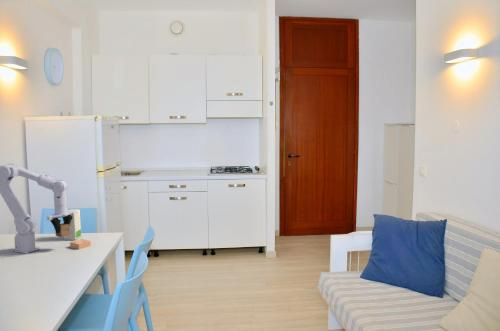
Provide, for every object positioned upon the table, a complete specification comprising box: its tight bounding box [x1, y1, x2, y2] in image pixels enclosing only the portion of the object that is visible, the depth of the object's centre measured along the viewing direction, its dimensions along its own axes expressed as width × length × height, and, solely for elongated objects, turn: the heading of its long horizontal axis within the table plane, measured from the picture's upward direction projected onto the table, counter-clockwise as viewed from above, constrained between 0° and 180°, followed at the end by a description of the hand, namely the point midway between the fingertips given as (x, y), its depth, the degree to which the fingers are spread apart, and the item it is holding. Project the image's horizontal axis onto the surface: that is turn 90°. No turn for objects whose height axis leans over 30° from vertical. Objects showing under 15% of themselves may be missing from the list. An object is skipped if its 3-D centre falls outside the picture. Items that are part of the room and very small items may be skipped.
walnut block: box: [55, 222, 69, 238], centre depth 211 cm, size 4×4×6 cm
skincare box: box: [63, 209, 82, 241], centre depth 231 cm, size 8×7×16 cm
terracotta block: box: [69, 238, 92, 250], centre depth 216 cm, size 7×7×3 cm
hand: (62, 231), depth 212 cm, fingers closed on walnut block, 4 cm apart
